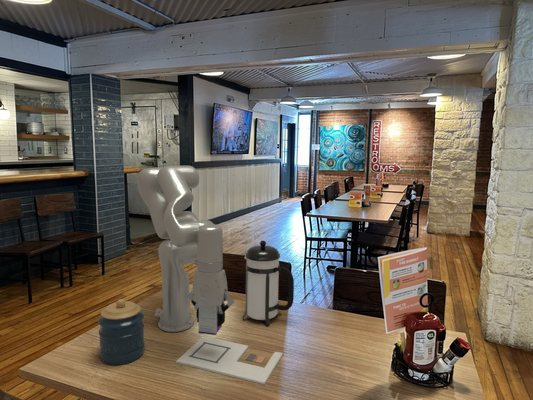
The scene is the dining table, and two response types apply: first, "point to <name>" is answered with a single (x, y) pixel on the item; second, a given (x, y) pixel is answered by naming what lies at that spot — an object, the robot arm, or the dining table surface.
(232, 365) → the board
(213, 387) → the dining table surface
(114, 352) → the canister
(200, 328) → the supplement box
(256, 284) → the coffee press
